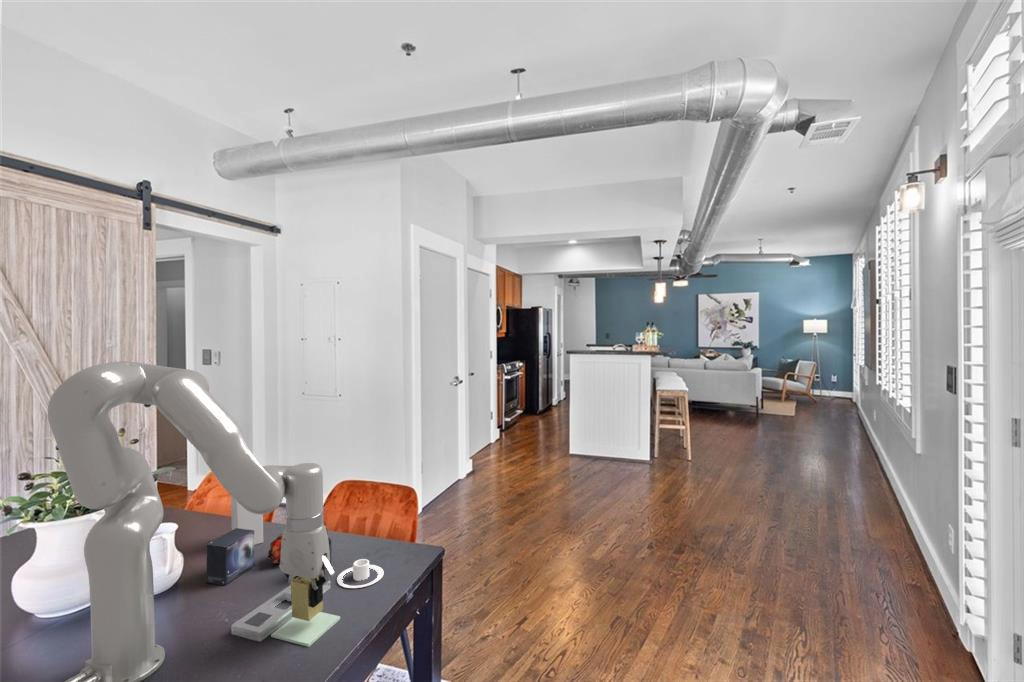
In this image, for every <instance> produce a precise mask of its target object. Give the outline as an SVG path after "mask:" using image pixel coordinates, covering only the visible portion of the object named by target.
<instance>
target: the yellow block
mask: <svg viewBox="0 0 1024 682" xmlns="http://www.w3.org/2000/svg"><path fill="white" fill-rule="evenodd" d="M318 580H319V578H318V576H317V581H318ZM311 589H312V583H311V579H310V578H304V577H297V578H296V579H294V580H293V581H291V594H292V602H291V605H292V618H297V619H302V620H306V621H310V620H311V619H312V618H313V617H314V616H316V615H317V614H318V613H319V612H323V610H324V599H323V600H322V601H321V602H320V603H319V604H318V605H316V606H315V607H314V608H312V607H311V599H310V590H311Z"/></svg>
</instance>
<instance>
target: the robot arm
mask: <svg viewBox="0 0 1024 682" xmlns="http://www.w3.org/2000/svg"><path fill="white" fill-rule="evenodd" d="M126 403H132V404H133V403H134V404H141V405H151V406H154V407H156V409H158V411H159V412H160V413H161V414H162V415H163V416H164V417H165V418H166V420H167V421H169V422H170V423H171V424H172V425H173V426H174V427H175V428H176V429H177V430H178V432H180V434H181V435H183V437H184V438H186V440H187V441H188V442H189V443H190V444H191V445H192V446H193V447H194V448H195V449H196V451H198V452H199V454H200V455H201V457H202V459H203V461H204V463H205V464H206V465H207V467H208V468H209V469H210V471H211V473H212V474H213V475H214V477H215V478H216V480H217V481H218V483H219V484H220V485H221V486H222V487H223V488H224V490H226V492H227V493H228V494H229V495H230V497H231V496H232V497H233V498H234V499H235V500H236V501H237V502H238V503H239V504H240V505H241V506H242V507H243V508H245V509H246V510H247V511H249V512H251V513H254V514H259V515H261V514H263V515H267V514H269V513H272V512H273V511H275V510H276V509H277V508H279V506H280V505H281V504H282V502H283V499H284V498H285V509H286V513H285V514H284V519H285V520H286V526H285V527H284V528H283V531H282V534H283V536H282V542H281V556H280V563H279V565H278V567H279V569H280V571H281V572H282V573H284V575H285V577H286V579H288V581H287V583H288V585H289V586H290V585H291V581H293V580H294V579H296V578H297V577H304V578H310V579H311V583H312V589H311V590H310V599H311V607H312V608H314V607H315V606H316V605H318V604H319V603H320V602H321V601H322V600H323V601H324V593H323V584H324V583H325V582H326V581H327V580H330V579H331V578H332V577H334V576H335V575H336V573H335V571H334V569H333V568H334V567H333V566H332V567H331V565H330V550H329V541H328V537H329V534H328V535H327V533H328V529H327V530H326V528H327V526H326V525H325V520H324V519H325V517H324V480H323V479H324V474H323V468H322V466H321V465H320V464H318V463H315V462H303V463H298V464H294V465H274V464H272V465H270V464H269V465H264V466H262V465H261V463H260V461H258V459H257V458H256V457H255V456H254V454H253V453H252V451H251V450H250V448H249V446H248V444H247V442H246V439H245V436H244V433H243V430H242V427H241V426H240V424H239V423H238V422H237V420H236V419H235V418H234V417H233V416H232V415H231V414H230V413H229V412H228V411H227V410H226V409H225V408H224V407H223V406H222V404H221V403H220V402H219V401H218V400H217V399H216V398H215V397H214V396H213V395H212V394H211V392H210V385H209V381H208V380H207V378H206V377H205V376H204V375H203V374H202V373H200V372H198V371H197V370H192V369H189V368H188V369H187V368H186V369H185V368H180V367H179V368H178V367H171V366H164V365H163V366H162V365H156V364H150V363H142V362H137V361H136V362H134V361H125V360H124V361H123V360H121V361H120V360H118V361H113V362H107V363H100V364H96V365H91V366H88V367H85V368H83V369H81V370H79V371H77V372H75V373H74V374H72V375H70V376H69V377H67V378H66V379H65V380H64V381H63V382H62V383H60V385H58V386H57V388H55V390H54V392H53V393H52V394H51V396H50V398H49V401H48V404H47V420H48V425H49V427H50V429H51V433H52V435H53V438H54V441H55V443H56V446H57V449H58V451H59V455H60V458H61V462H62V464H63V467H64V470H65V474H66V476H67V479H68V482H69V484H70V488H71V492H72V494H73V497H74V498H75V500H76V501H77V502H78V504H80V505H81V506H83V507H85V508H86V509H89V510H102V509H103V511H104V515H103V516H102V517H100V518H99V519H98V520H97V521H96V522H95V524H94V525H92V527H91V529H90V530H89V532H88V533H87V536H86V538H85V541H84V546H83V554H84V556H83V557H84V561H85V565H86V569H87V574H88V586H89V603H90V604H89V605H90V606H89V607H90V610H89V611H90V635H91V637H90V639H91V658H89V659H87V660H85V661H84V668H82V669H81V670H80V671H79V673H78V674H76V675H74V676H71V677H70V678H68V679H67V680H65V681H64V682H142V681H144V680H145V679H147V678H148V677H150V676H151V675H152V674H153V673H155V672H156V671H158V669H159V668H160V667H161V666H162V665H163V663H164V661H165V659H166V650H165V648H164V647H163V646H161V645H159V644H156V642H155V641H156V634H155V625H156V624H155V594H154V593H155V592H154V591H155V589H154V570H153V567H154V566H153V561H152V556H151V550H150V549H151V540H152V539H153V537H154V535H155V534H156V532H157V531H158V529H159V528H160V526H161V524H162V522H163V519H164V507H163V502H162V500H161V496H160V493H159V491H158V487H157V485H156V481H155V478H154V475H153V472H152V469H151V467H150V464H149V462H148V460H147V459H146V458H145V456H144V455H143V454H142V453H141V452H139V451H137V449H134V448H131V447H126V446H122V444H121V441H120V439H119V433H118V431H117V429H116V427H115V425H114V424H113V422H112V421H111V419H110V416H109V415H110V411H111V410H112V409H114V408H115V407H118V406H120V405H123V404H126ZM323 571H324V572H325V575H324V572H323ZM317 576H318V578H319V580H318V581H317ZM290 603H292V594H291V602H290Z"/></svg>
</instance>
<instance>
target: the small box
mask: <svg viewBox="0 0 1024 682" xmlns="http://www.w3.org/2000/svg"><path fill="white" fill-rule="evenodd" d="M252 568H255V545H254V530H247V529H240V528H236V529H234V530H232V529H231V531H228V532H225V534H223V535H221V536H219V537H217V538H215V539H213V540H211V541H209V542H208V543H206V583H207V584H214V585H221V586H227V585H229V584H230V583H231V582H233V581H234V580H236V579H238V578H239V577H240V576H242V575H243V574H245V573H247V572H248V571H249V570H251V569H252Z"/></svg>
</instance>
